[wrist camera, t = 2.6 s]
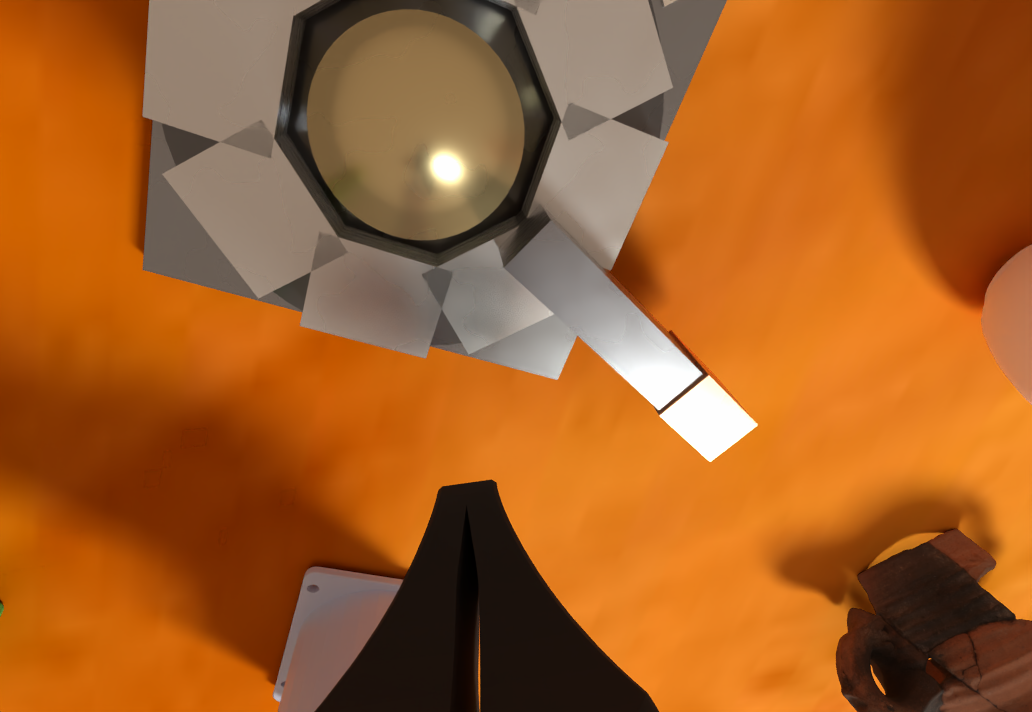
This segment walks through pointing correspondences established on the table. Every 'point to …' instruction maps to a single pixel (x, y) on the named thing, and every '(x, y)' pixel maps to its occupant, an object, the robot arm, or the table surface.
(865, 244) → the table surface
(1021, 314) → the air blower bulb
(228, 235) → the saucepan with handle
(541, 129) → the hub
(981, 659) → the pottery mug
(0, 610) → the fruit basket
